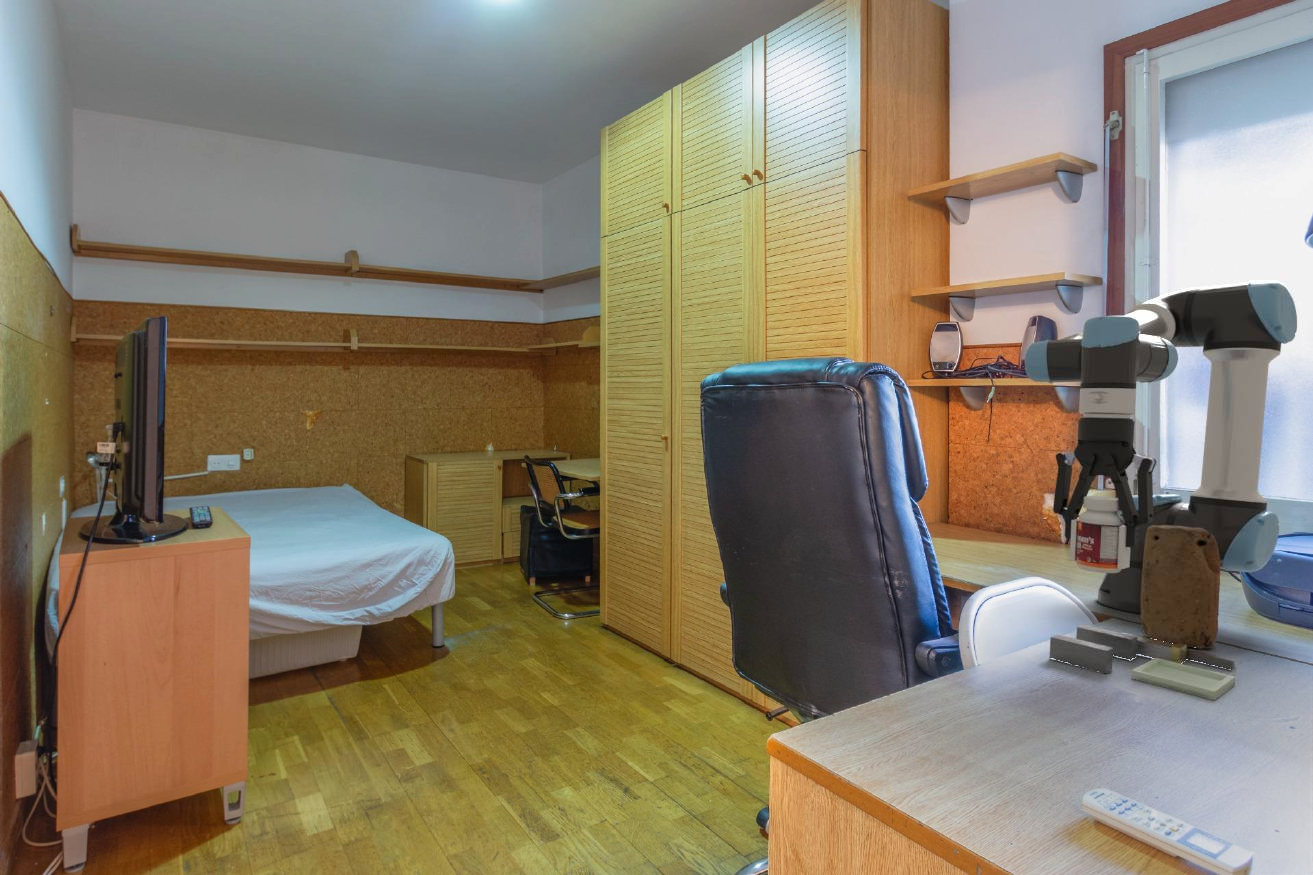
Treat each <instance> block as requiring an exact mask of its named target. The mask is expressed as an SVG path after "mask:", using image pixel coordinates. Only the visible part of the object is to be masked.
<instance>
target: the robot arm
mask: <svg viewBox="0 0 1313 875" xmlns="http://www.w3.org/2000/svg"><path fill="white" fill-rule="evenodd" d="M1297 329H1298V314H1297V309H1296V305H1295V301H1294V299H1293V296H1292V293H1291V291H1290V290H1289V289H1288V287H1287V286H1286V285H1285V284H1284V283H1282V282H1280V281H1278V280H1255V281H1254V280H1249V281H1246V282H1245V281H1244V282H1237V283H1225V284H1219V285H1210V286H1202V287H1201V286H1199V287H1190V288H1184V289H1181V290H1177V291H1172V292H1170V293H1166V294H1164V295H1160V296H1158V297H1156V298H1153V299H1150V300H1147V301H1145V302H1141V303H1139V304H1137V305H1135V306H1133V307H1132V308H1130V309H1129V310H1128V311H1127V312H1126V314H1125V315H1105V316H1095V317H1091V318H1089V319H1087V320H1086V321H1085V322H1084V324H1083V331H1080V332H1078V333H1075V334H1073V335H1068V336H1065V337H1064V338H1061V339H1055V340H1054V339H1053V340H1052V339H1051V340H1050V339H1046V340H1041V341H1036V342H1033V343H1031V344H1030V345H1029V347H1027V349H1026V352H1025V355H1024V362H1023V363H1024V369H1025V373H1026V376H1028V378H1029V379H1030V380H1031V381H1033V382H1036V383H1048V384H1053V383H1054V384H1055V383H1080V386H1079V389H1080V390H1079V403H1078V405H1079V407H1078V413H1079V414H1081V415H1083V416H1082V417H1080V418H1079V419H1078V421H1077V422H1078V424H1077V425H1078V426H1077V444H1076V446H1075V448H1074V450H1073V451H1068V452H1058V453H1057V454H1055V459H1056V464H1057V467H1058V468H1057V476H1056V483H1055V491H1054V492H1055V493H1054V499H1053V504H1052V505H1053V507H1052V510H1053V512H1054V514H1058V515H1060V516H1063V518H1064V521H1065V525H1064V536H1065V539H1070V544H1069V546H1070V547H1069V561H1071V562H1077V541H1078V523H1079V516H1080V514H1081V510H1082V508H1083V503H1084V497H1085V496H1088V494H1089V491H1090V489H1091V486H1092V484H1093V481H1095V480H1096V477H1097V476H1103V477H1106V478H1107V477H1108V478H1109V479H1110V481H1111V483H1112V484H1113V487H1114V490H1115V493H1116V498H1118V500H1119V504H1120V507H1121V510H1122V511H1117V513H1118V514H1119V515H1120V516H1122V517H1123V519H1124V525H1122V526H1119V546H1118V566H1117V568H1119V569H1121V571H1120V572H1118V573H1104V576H1103V578H1102V580H1101V583H1100V586H1099V588H1098V591H1097V601H1098V602H1099V603H1100V604H1102V605H1104V606H1106V607H1108V608H1112V609H1115V610H1116V609H1117V610H1120V611H1125V612H1130V613H1136V614H1141V583H1142V570H1143V555H1144V546H1145V538H1146V532H1147V529H1148V527H1150V526H1161V525H1170V526H1185V527H1190V528H1203V529H1205V530H1207V531H1208V532H1209V533H1211V534H1212V535H1213V536H1214V538H1215V540H1216V542H1217V546H1218V551H1219V556H1220V570H1221V569H1222V570H1224V571H1227V572H1230V571H1231V572H1232V571H1235V572H1243V573H1253V572H1258V571H1260V570H1261V569H1263V568H1264V567H1265V566H1267V563H1269V561H1270V560H1271V558H1272V556H1273V555H1274V552H1275V549H1276V546H1277V542H1278V539H1279V534H1280V525H1279V523H1280V522H1279V517H1278V515H1277V514H1276V513H1275V512H1272V510H1268V509H1267V507H1268V500H1266V498H1264V497H1263V496H1262V495H1261V493H1259V491H1258V490H1259V489H1258V488H1259V480H1260V479H1259V478H1260V468H1261V456H1262V443H1263V435H1264V434H1263V432H1264V421H1265V413H1266V412H1265V410H1266V399H1267V387H1268V376H1269V367H1270V366H1269V365H1270V363H1271V361H1273V360H1274V359H1276V358H1277V357H1278V356H1280V355H1281V352H1282V344H1288V343H1290V342H1292V341H1294V339H1295V338H1296V333H1297ZM1187 347H1188V348H1197V347H1201V348H1202V355H1203V356H1204V357H1205V358H1206V359H1208V360H1209V362H1210V363H1211V365H1210V376H1209V387H1208V388H1209V390H1208V399H1207V412H1206V424H1205V435H1204V444H1203V456H1202V465H1201V466H1202V468H1201V478H1200V486H1199V487H1198V488H1197V489H1196V490H1194V491H1193V492H1191V493H1189V494H1190V495H1189V502H1183V499H1182V496H1181V495H1180V494H1173V493H1172V494H1171V493H1170V494H1166V493H1165V494H1154V492H1153V490H1154V489H1153V472H1154V469H1155V467H1156V464H1157V459H1156V458H1155V457H1146V456H1142V455H1140V454H1137V452H1136V450H1135V448H1134V442H1135V441H1134V440H1135V424H1136V423H1135V420H1134V418H1131V416H1134V415H1135V413H1136V399H1137V398H1136V397H1137V396H1136V395H1137V382H1139V383H1141V384H1143V383H1148V384H1150V383H1153V382H1159V381H1162V380H1164V379H1166V378H1168V377H1169V376H1170V375H1172V373H1173V372H1174V371H1175V370H1176V368H1177V365H1178V362H1179V354H1178V350H1177V348H1187ZM1075 459H1076V460H1077V462H1078V463H1079V464H1080V466H1081V470H1080V472H1079V475H1078V480H1077V483H1076V485H1075V488H1074V491H1073V492H1072V495H1071V498H1070V500H1069V496H1070V490H1071V489H1070V488H1071V482H1072V474H1073V465H1074V464H1075ZM1133 462H1134V465H1135V466H1134V467H1135V469H1136V470H1137V494H1136V495H1134V494H1132V492H1131V488H1130V485H1129V476H1128V474H1127V468H1128V467H1130V465H1131V464H1132V463H1133Z"/></svg>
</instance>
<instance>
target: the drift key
mask: <svg viewBox="0 0 1313 875" xmlns="http://www.w3.org/2000/svg"><path fill="white" fill-rule="evenodd" d="M1121 633H1123V634H1127V635H1132V636H1136V637H1137V653H1136V654H1141V655H1144V656H1149V657H1152V658H1159V659H1163V660H1167V661H1171V662H1175V663H1180V664H1181V663H1182V662H1184V661H1185V660H1186V649H1187V648H1188V647H1187V644H1182V643H1178V644H1172V643H1168V642H1163V641H1159V640H1154V639H1150V638H1148V637H1145V636H1140V635H1135V634H1130V633H1128V632H1121ZM1186 661H1187V660H1186Z"/></svg>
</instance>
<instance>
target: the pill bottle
mask: <svg viewBox="0 0 1313 875" xmlns="http://www.w3.org/2000/svg"><path fill="white" fill-rule="evenodd" d="M1082 508H1083V509H1086V510H1085V511H1083V512H1082V513H1081V512H1080V513H1079V515H1080V516H1079V517H1078V519H1079V523H1078V541H1077V561H1076V566H1077V568H1079V569H1080V570H1083V571H1088V572H1095V573H1101V574H1106V573H1118V572H1120V571H1121V569H1119V568H1117V566H1118V546H1119V526H1122V525H1124V519H1123V517H1122V516H1120V515H1119V514H1118V513H1117V511H1122V510H1121V507H1120V504H1119V500H1118V497H1111V496H1097V495H1095V496H1092V495H1087V496H1085V497H1084V503H1083V506H1082Z"/></svg>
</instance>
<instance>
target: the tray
mask: <svg viewBox="0 0 1313 875" xmlns="http://www.w3.org/2000/svg"><path fill="white" fill-rule="evenodd" d="M1132 678H1133V680H1135V679H1136V681H1139V680H1140V682H1142V683H1147V682H1148V683H1147V684H1152V685H1154V686H1155V685H1156V686H1159V687H1162V688H1167V689H1170V690H1175V691H1178V692H1180V693H1181V692H1182V693H1185V694H1188V695H1193V696H1197V697H1200V698H1204V699H1206V700H1207V699H1208V700H1212V701H1215V700H1217V699H1218V698H1220V697H1221V696H1222V695H1223V694H1225V693H1227V692H1228V691H1229V690H1230V689H1232V688H1233V687H1234V686H1235V685H1236V676H1233V675H1229V674H1226V673H1222V672H1217V671H1213V670H1210V669H1203V668H1200V667H1196V666H1191V665H1188V664H1185V663H1183V664H1180V663H1175V662H1171V661H1167V660H1163V659H1159V658H1154V659H1149V661H1146V662H1145V663H1144V664H1141V665H1139V666H1137V667H1135V668H1134V669H1131V679H1132ZM1232 686H1233V687H1232Z"/></svg>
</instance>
